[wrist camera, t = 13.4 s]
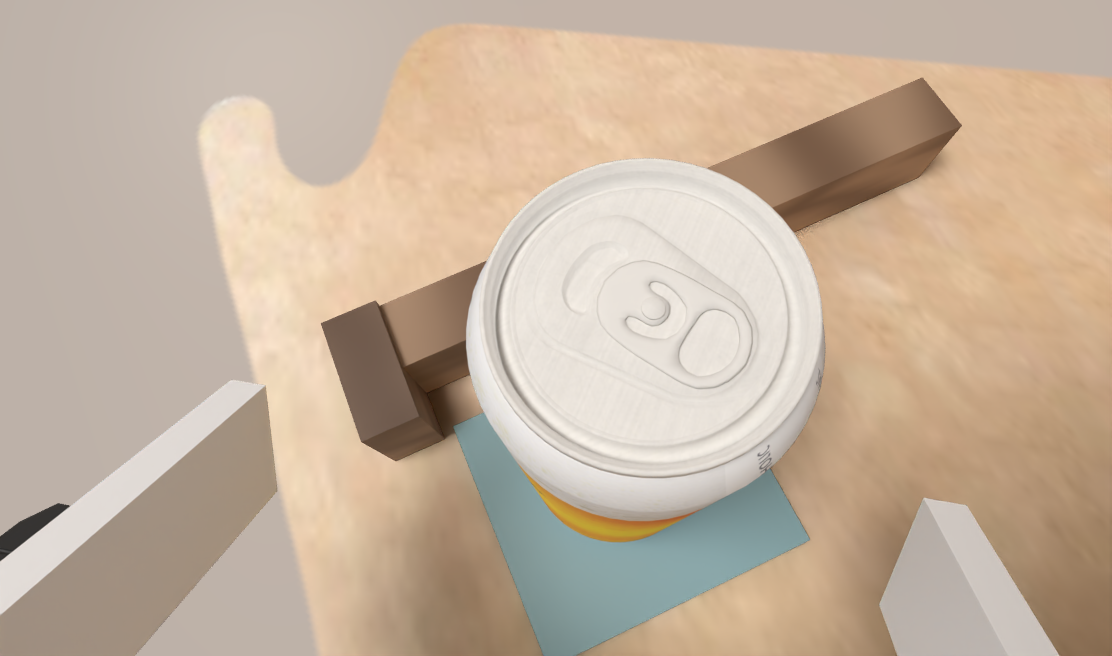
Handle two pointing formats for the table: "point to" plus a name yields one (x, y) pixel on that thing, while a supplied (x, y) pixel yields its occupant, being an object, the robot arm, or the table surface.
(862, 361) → the table surface
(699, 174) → the orange soda can
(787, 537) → the pad
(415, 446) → the brown l-shaped hook tool
